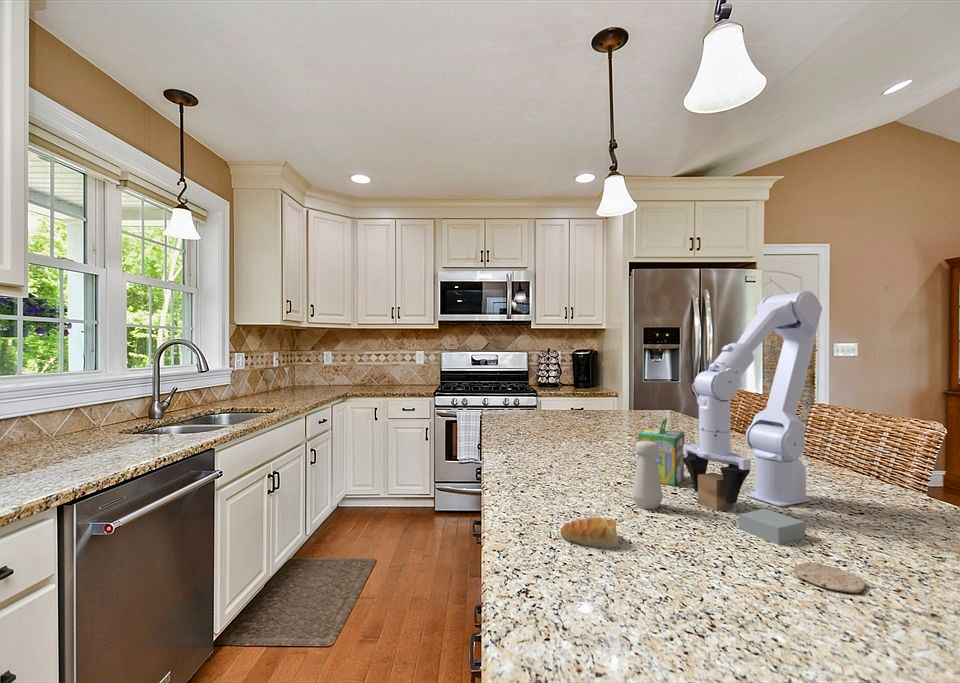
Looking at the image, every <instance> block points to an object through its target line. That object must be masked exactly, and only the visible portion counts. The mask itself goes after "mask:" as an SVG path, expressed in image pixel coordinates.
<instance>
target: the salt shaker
mask: <svg viewBox="0 0 960 683" xmlns="http://www.w3.org/2000/svg"><path fill="white" fill-rule="evenodd" d="M635 444H636V445H635V452H636V454H638V453H639V460H638V459H637V466H636V471H635V477H634V482H633V486H632V492H631V493H632V497H633V499H634V500H633V501H634V502H635V505H636V506H637V507H638V508H640V509H643V510H656V509H659V508H660V505H661V503H662V501H663V498H664V497H663V496H664V495H663V490H662V484H661V483H660V478H659V473H658V467H657V462H656V457H655V455H656V454H658V445H657V444H656V443H654V442H651V441H639V442H638V441H637V442H636V443H635Z"/></svg>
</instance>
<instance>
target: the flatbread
mask: <svg viewBox="0 0 960 683" xmlns="http://www.w3.org/2000/svg"><path fill="white" fill-rule="evenodd" d="M793 570H794V573H795V575H796V576H797V577H798V578H799V579H801V580H803V581H804V582H808V583H810V584H813V585H814V586H815V585H816V586H818V587H820V588H824V589H827V590H831V591H836V592H843V593H853V594H860V593H862V592H863V590H865V587H866V582H865V581H864V580H863V579H862V578H861V577H860V576H859V577H858V576H857V575H854V574H853V573H851V572H848V571H846V570H842V569H840V568H836V567H834V566H833V565H832V566H831V565H827V564H822V563H817V562H811V561H810V562H809V561H808V562H804V563H799V564H796V565H795V566H794V567H793Z"/></svg>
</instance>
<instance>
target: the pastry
mask: <svg viewBox="0 0 960 683" xmlns="http://www.w3.org/2000/svg"><path fill="white" fill-rule="evenodd" d="M560 535H561V537H562V538H563V539H564V540H566V541H567V542H569V543H574V544H577V545H581V546H585V547H595V548H601V549H602V548H603V549H616V548H617V547H618V544H619V537H618V532H617V521H616V520H615V519H614V518H608V519H606V518H602V517H594V516H593V517H589V518H583V519H582V518H581V519H577V520H576V519H575V520H574V521H569V522H566V523H565V524H564V525H562V527H561V528H560Z"/></svg>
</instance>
